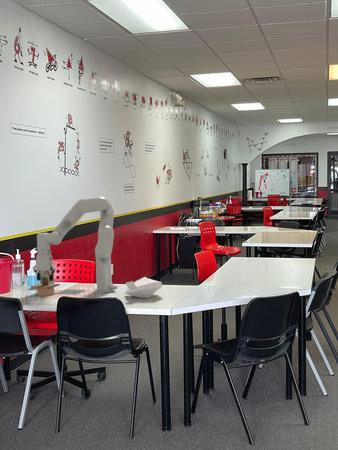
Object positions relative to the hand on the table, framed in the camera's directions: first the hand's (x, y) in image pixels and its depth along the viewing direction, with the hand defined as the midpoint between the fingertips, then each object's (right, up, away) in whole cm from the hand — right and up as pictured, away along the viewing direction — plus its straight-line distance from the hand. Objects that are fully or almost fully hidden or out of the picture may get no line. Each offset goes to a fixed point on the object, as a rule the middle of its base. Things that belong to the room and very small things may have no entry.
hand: (45, 280), depth 363 cm
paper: (+61, -9, -16) cm, 64 cm away
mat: (+15, -8, +5) cm, 18 cm away
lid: (0, -4, 0) cm, 4 cm away
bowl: (0, -9, +1) cm, 9 cm away
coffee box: (-6, -7, +32) cm, 34 cm away
